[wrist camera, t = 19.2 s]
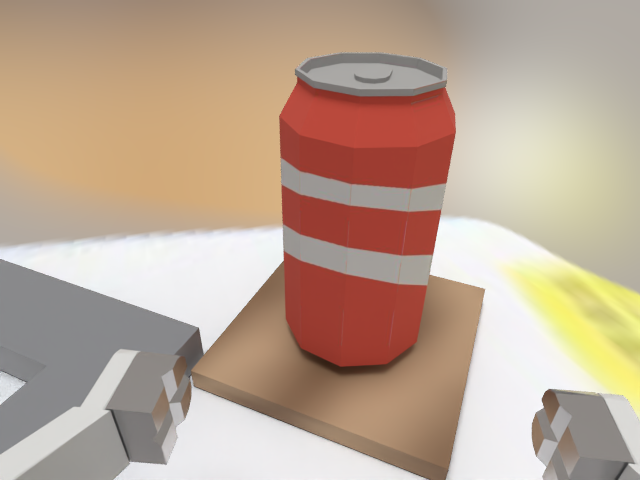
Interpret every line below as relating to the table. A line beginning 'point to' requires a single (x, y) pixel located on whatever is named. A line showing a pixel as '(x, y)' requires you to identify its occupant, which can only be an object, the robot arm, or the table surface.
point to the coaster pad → (354, 378)
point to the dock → (69, 344)
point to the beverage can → (362, 201)
